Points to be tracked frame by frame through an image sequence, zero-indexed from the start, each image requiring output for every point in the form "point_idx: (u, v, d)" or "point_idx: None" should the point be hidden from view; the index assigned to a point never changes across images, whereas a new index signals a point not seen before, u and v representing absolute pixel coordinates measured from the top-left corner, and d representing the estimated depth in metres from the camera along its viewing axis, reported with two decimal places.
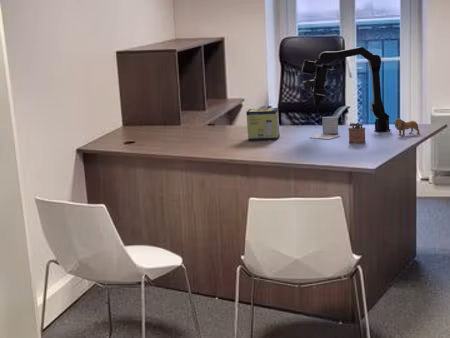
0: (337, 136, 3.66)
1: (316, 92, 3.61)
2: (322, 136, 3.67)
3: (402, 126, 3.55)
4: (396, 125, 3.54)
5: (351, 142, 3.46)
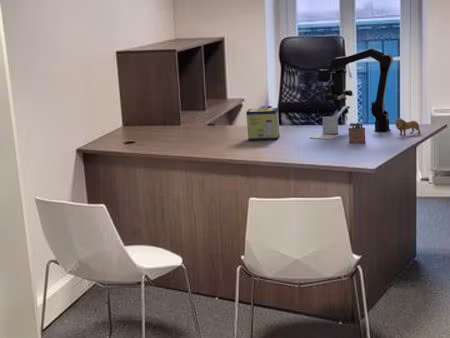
0: (337, 136, 3.66)
1: (326, 98, 3.72)
2: (322, 136, 3.67)
3: (403, 126, 3.55)
4: (397, 125, 3.54)
5: (351, 142, 3.46)
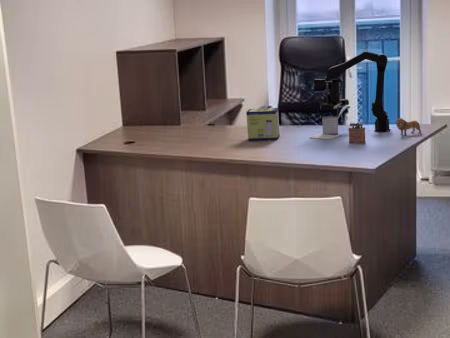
0: (337, 136, 3.66)
1: (322, 108, 3.70)
2: (322, 136, 3.67)
3: (404, 126, 3.55)
4: (398, 125, 3.54)
5: (351, 142, 3.46)
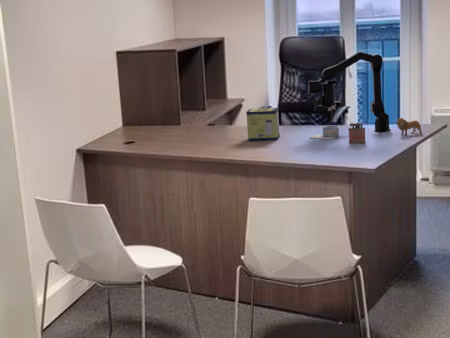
0: (337, 136, 3.66)
1: (316, 110, 3.66)
2: (322, 136, 3.67)
3: (404, 126, 3.55)
4: (398, 125, 3.55)
5: (351, 142, 3.46)
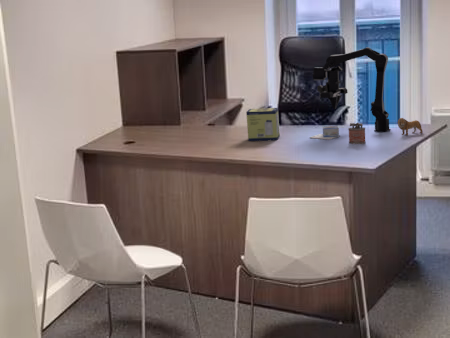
0: (337, 136, 3.66)
1: (321, 96, 3.72)
2: (322, 136, 3.67)
3: (405, 126, 3.55)
4: (399, 125, 3.55)
5: (351, 142, 3.46)
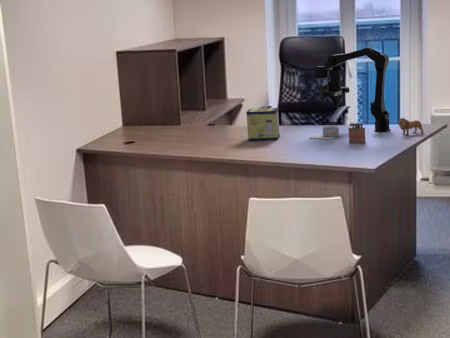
0: (337, 136, 3.66)
1: (323, 95, 3.75)
2: (322, 136, 3.67)
3: (406, 125, 3.55)
4: (400, 124, 3.55)
5: (351, 142, 3.46)
